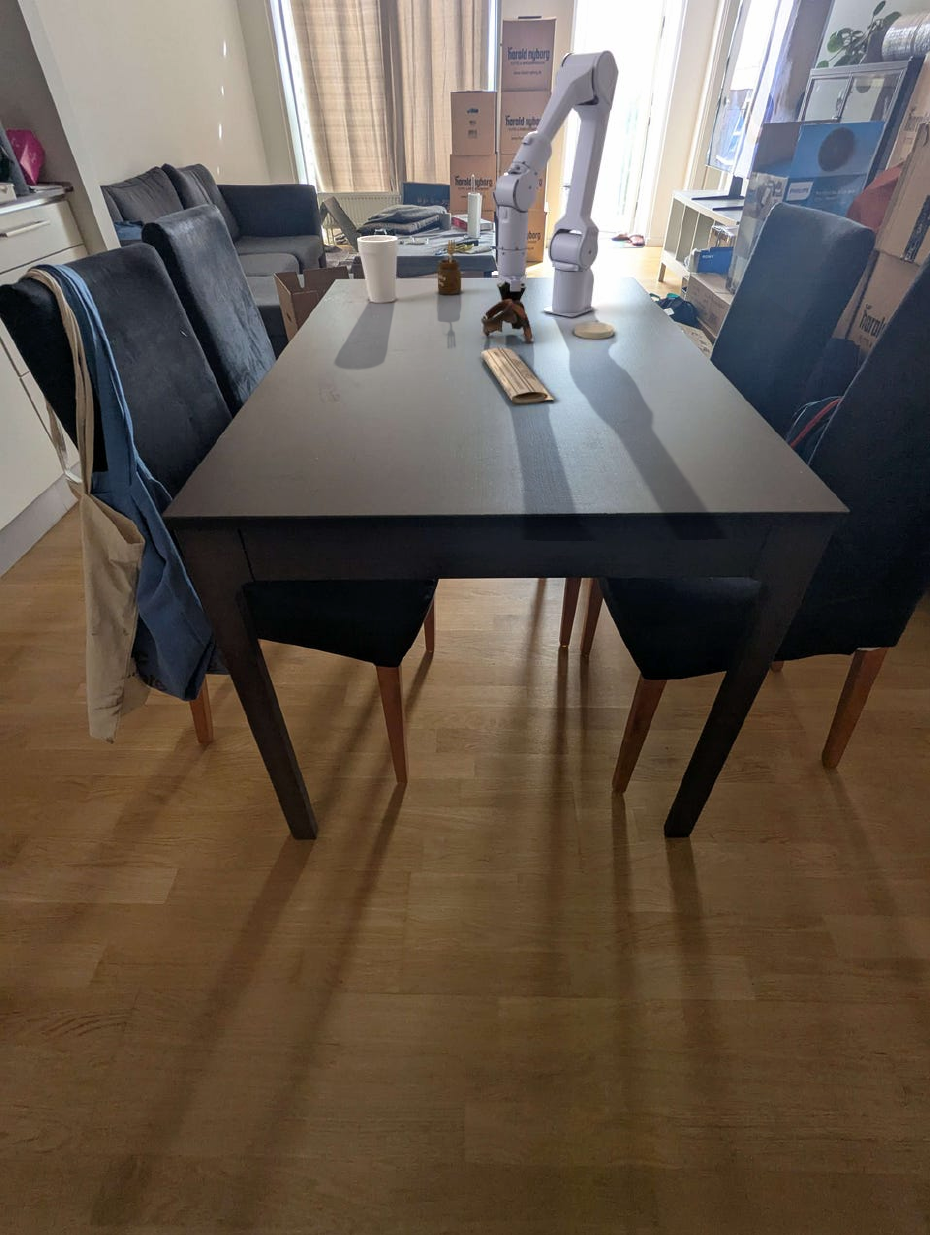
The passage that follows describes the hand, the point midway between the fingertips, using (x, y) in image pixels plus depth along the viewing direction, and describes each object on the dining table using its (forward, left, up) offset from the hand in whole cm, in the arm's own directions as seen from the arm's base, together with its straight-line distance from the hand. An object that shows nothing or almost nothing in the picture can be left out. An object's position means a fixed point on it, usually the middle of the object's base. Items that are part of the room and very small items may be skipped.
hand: (509, 321), depth 130 cm
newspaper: (+24, +20, -2) cm, 31 cm away
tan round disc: (-8, +16, -1) cm, 18 cm away
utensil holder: (-16, -32, -2) cm, 36 cm away
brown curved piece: (+6, +4, -2) cm, 7 cm away
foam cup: (0, -40, -2) cm, 40 cm away
